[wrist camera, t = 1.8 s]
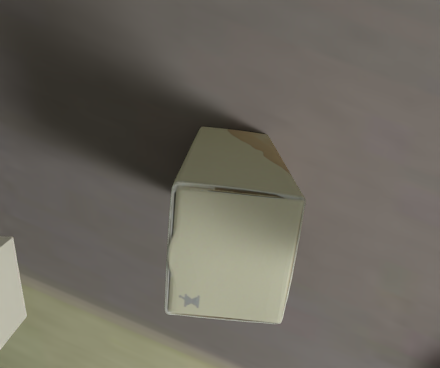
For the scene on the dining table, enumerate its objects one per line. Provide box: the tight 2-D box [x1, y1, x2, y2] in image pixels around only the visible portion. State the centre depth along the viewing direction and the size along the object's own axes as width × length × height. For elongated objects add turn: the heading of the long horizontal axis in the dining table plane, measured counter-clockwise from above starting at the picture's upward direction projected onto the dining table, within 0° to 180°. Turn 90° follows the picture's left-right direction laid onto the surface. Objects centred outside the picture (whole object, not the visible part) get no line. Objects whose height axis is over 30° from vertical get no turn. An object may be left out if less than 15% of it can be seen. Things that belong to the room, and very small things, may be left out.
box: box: [164, 127, 306, 324], centre depth 17 cm, size 5×4×11 cm
